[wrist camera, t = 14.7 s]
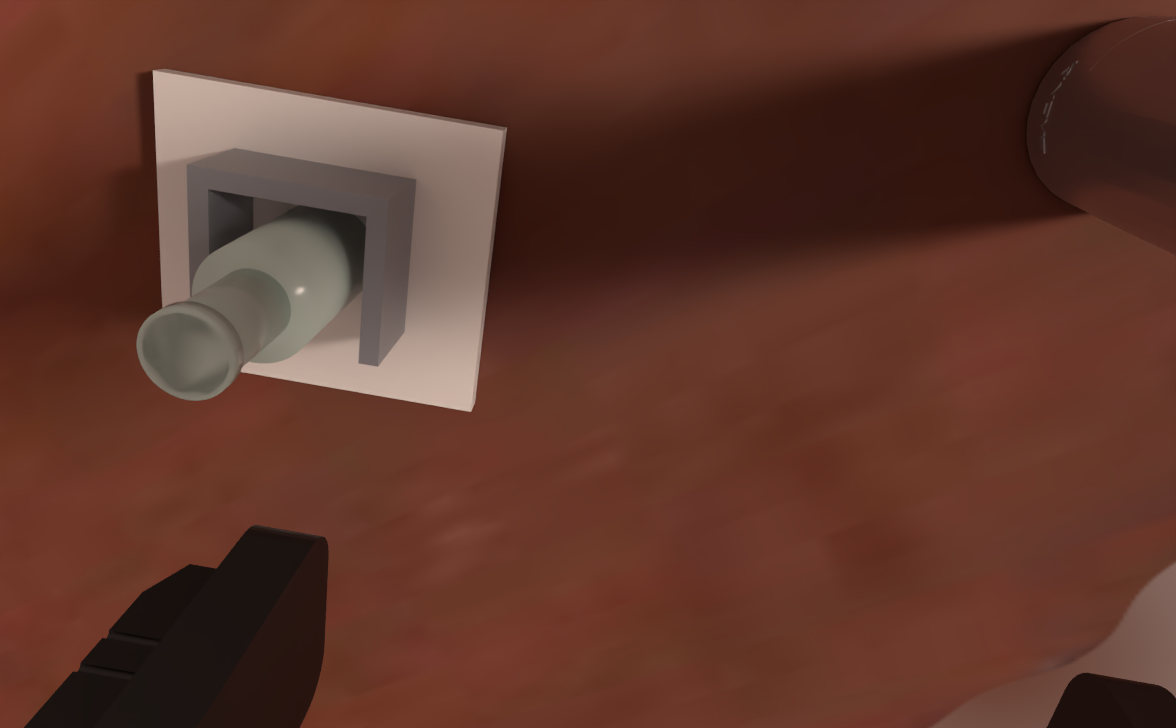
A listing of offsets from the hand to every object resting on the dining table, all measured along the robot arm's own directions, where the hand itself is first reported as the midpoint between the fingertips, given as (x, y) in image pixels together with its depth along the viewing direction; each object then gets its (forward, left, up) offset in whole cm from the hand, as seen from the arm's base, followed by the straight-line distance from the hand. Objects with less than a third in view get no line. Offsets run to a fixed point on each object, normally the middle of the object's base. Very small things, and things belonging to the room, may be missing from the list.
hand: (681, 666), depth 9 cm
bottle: (+17, +9, -37) cm, 41 cm away
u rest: (+17, +9, -38) cm, 43 cm away
